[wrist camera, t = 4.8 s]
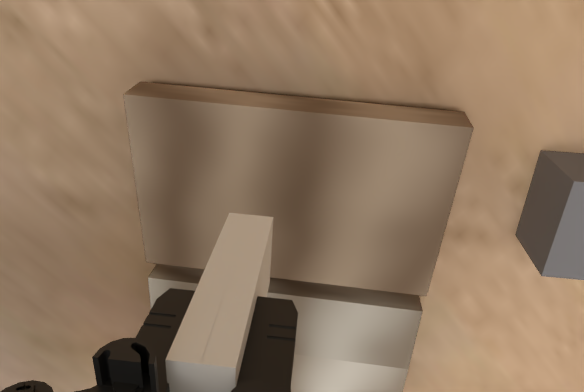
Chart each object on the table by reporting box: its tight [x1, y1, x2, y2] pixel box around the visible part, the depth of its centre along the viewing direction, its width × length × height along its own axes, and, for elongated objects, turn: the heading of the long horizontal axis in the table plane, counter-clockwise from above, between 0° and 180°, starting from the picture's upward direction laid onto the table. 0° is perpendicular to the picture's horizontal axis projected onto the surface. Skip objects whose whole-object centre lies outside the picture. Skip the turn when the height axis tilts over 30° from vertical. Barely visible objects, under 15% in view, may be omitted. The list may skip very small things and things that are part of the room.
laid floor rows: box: [148, 264, 422, 392], centre depth 29 cm, size 16×9×2 cm, turn 86°
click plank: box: [123, 82, 473, 296], centre depth 24 cm, size 16×10×2 cm, turn 86°
